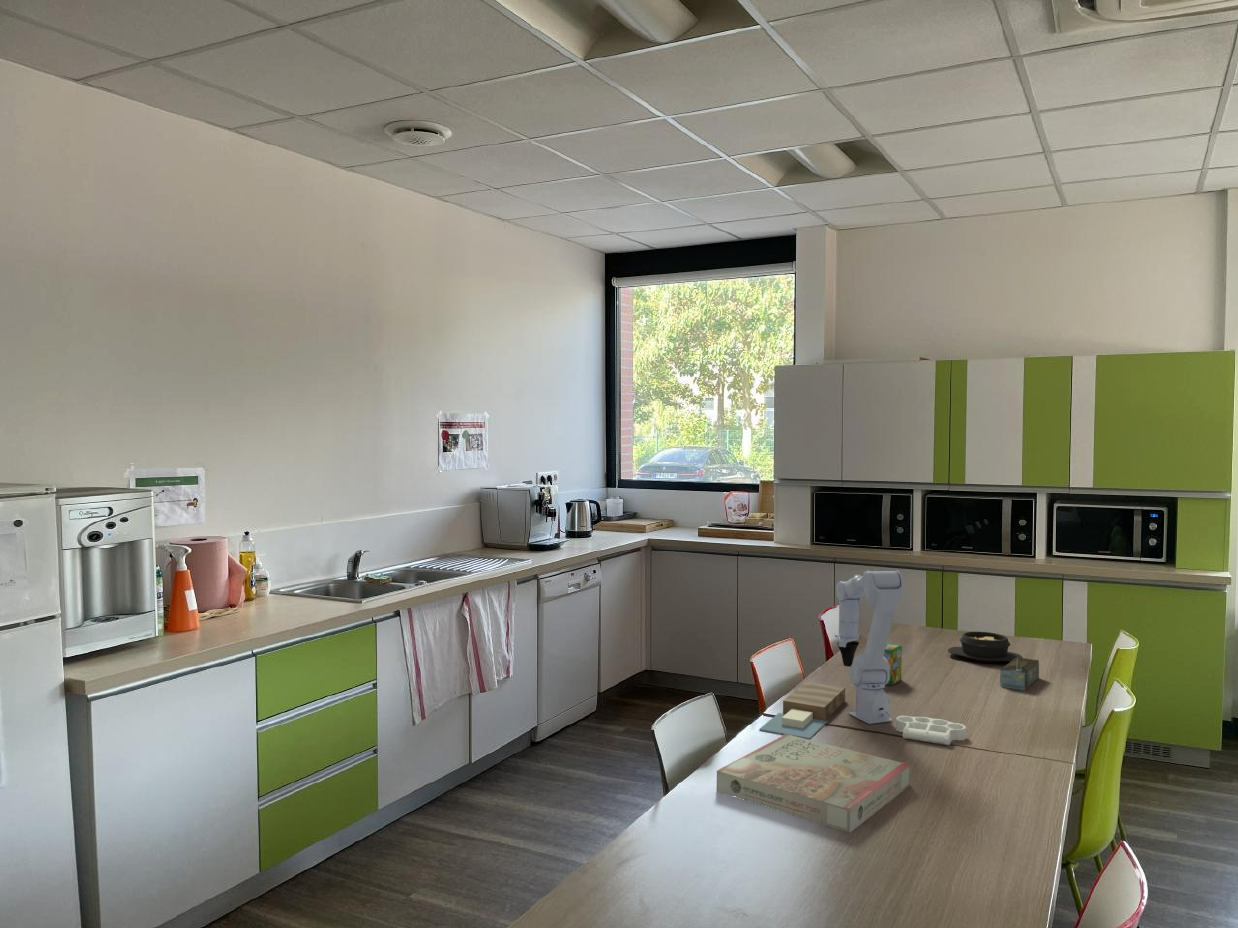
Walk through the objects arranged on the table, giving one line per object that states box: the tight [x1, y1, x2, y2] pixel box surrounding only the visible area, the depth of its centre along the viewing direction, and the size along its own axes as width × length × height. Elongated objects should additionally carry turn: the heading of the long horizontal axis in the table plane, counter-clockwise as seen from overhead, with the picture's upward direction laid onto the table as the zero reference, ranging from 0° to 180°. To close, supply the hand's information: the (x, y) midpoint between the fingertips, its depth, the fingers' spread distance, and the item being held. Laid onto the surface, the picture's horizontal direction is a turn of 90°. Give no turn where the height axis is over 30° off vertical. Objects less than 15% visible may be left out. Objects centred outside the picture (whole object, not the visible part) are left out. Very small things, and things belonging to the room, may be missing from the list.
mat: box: [758, 712, 828, 740], centre depth 248 cm, size 16×14×1 cm
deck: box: [782, 681, 846, 721], centre depth 265 cm, size 22×12×4 cm, turn 151°
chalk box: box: [883, 642, 903, 686], centre depth 294 cm, size 9×9×15 cm
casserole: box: [947, 631, 1024, 664], centre depth 323 cm, size 25×19×8 cm
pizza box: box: [716, 734, 911, 834], centre depth 205 cm, size 32×5×32 cm
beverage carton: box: [999, 657, 1040, 691], centre depth 294 cm, size 8×19×7 cm, turn 143°
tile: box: [782, 709, 813, 728], centre depth 251 cm, size 9×6×2 cm, turn 151°
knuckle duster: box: [895, 715, 967, 746], centre depth 242 cm, size 3×18×15 cm
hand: (847, 665), depth 273 cm, fingers closed
